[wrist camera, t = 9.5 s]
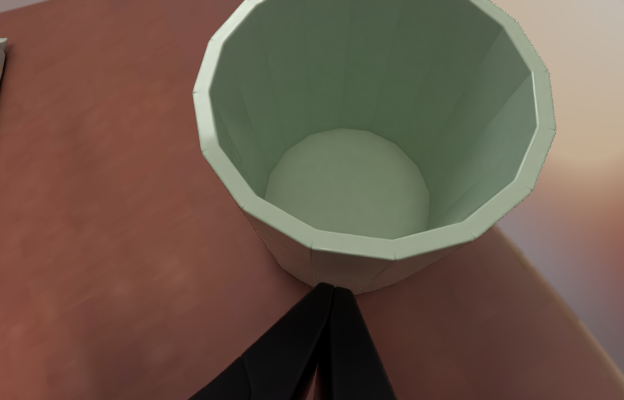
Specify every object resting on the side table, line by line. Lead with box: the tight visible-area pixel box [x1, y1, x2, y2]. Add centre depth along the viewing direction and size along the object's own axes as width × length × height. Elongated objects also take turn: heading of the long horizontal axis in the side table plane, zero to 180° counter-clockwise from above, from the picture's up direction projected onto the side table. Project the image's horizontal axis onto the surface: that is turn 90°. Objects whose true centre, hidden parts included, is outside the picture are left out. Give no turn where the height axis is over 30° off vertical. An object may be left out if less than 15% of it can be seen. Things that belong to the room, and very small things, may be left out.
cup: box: [192, 0, 556, 295], centre depth 13 cm, size 9×9×9 cm
